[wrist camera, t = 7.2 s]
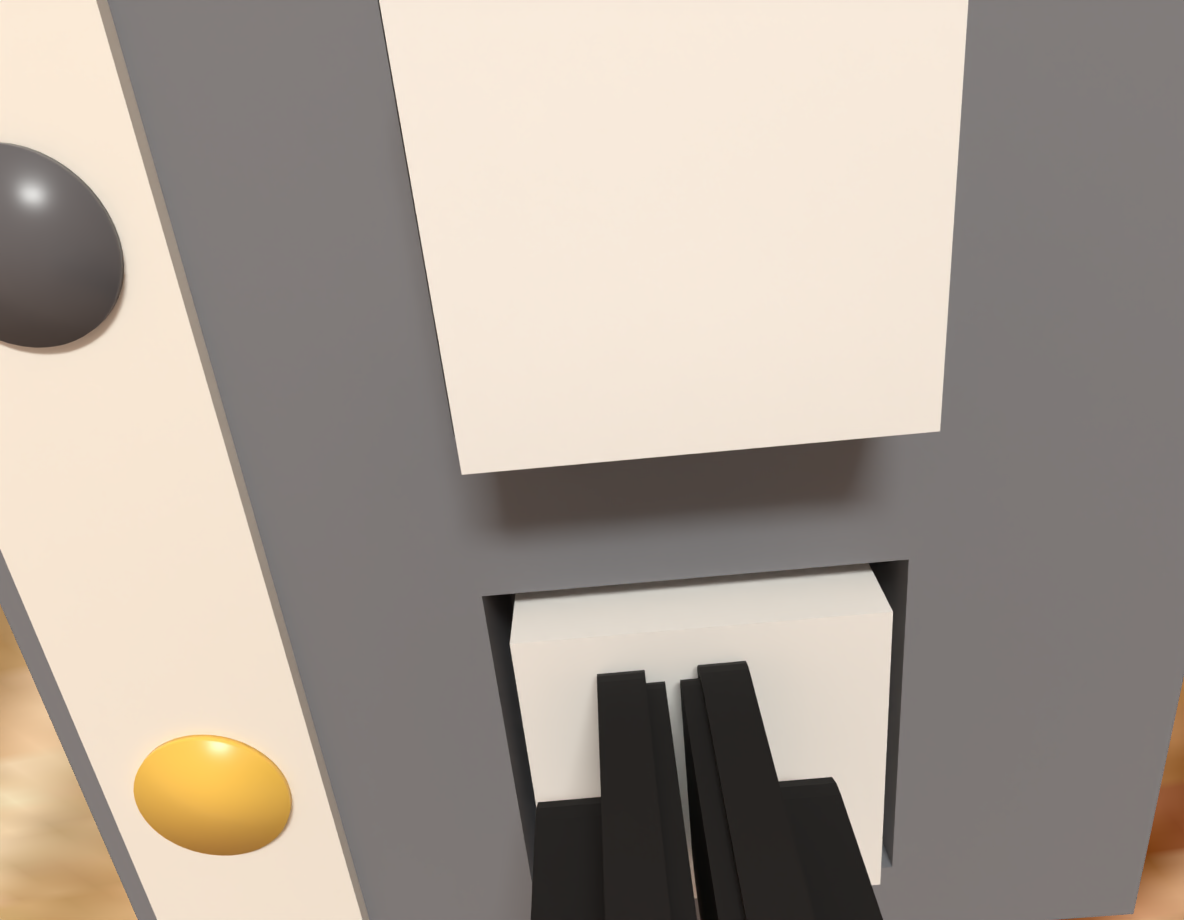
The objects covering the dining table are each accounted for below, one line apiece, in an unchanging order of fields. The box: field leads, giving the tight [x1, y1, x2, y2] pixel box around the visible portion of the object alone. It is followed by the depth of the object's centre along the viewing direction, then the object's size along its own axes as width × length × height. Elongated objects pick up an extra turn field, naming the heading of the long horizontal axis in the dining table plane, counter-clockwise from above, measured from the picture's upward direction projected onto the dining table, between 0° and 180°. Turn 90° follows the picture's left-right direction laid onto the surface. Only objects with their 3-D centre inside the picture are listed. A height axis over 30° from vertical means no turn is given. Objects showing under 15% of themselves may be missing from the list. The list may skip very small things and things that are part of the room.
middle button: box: [379, 0, 968, 475], centre depth 8 cm, size 4×4×2 cm
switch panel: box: [0, 0, 1184, 920], centre depth 10 cm, size 13×20×3 cm, turn 6°
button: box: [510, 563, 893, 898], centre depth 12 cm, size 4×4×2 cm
